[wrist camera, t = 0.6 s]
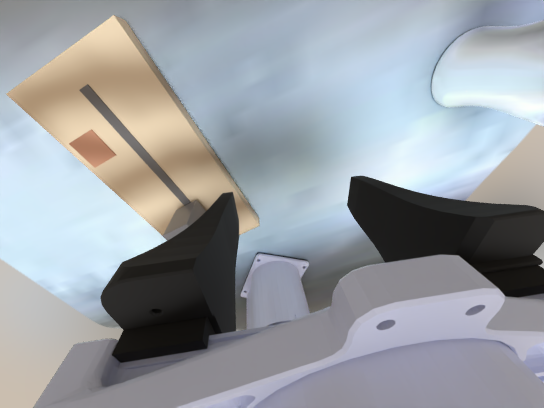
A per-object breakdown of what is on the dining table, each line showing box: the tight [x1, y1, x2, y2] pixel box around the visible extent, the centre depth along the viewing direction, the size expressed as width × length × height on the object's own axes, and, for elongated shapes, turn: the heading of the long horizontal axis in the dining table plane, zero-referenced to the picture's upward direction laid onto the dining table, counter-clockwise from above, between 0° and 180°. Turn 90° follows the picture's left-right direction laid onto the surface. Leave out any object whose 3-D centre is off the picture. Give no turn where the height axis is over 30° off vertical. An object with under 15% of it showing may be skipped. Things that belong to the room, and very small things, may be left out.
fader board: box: [7, 15, 260, 236], centre depth 19 cm, size 20×10×2 cm, turn 26°
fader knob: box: [163, 200, 206, 241], centre depth 20 cm, size 4×2×4 cm, turn 26°
